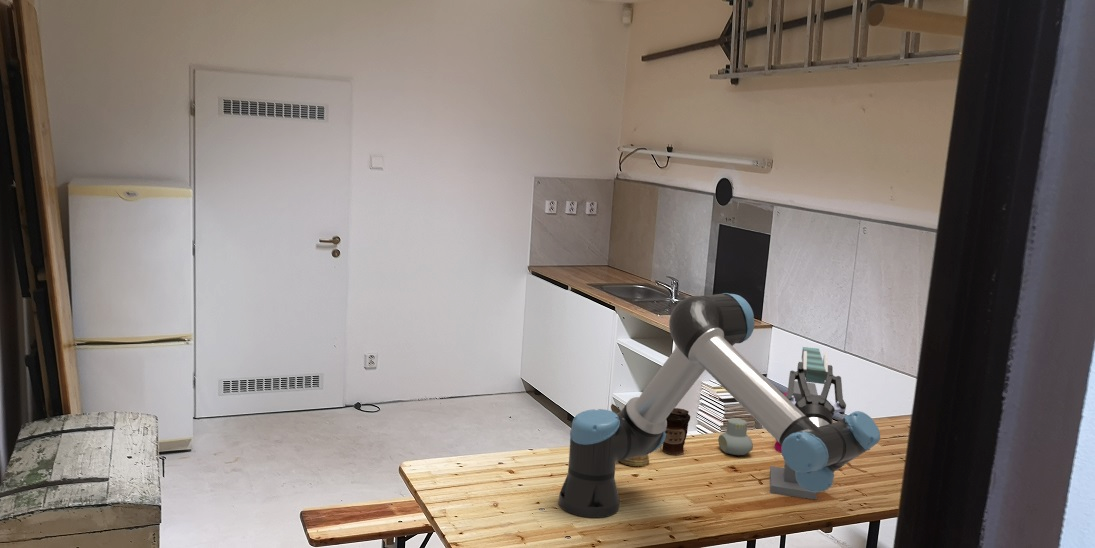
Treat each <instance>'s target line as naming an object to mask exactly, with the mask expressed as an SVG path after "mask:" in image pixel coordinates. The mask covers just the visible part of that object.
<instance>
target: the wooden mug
mask: <svg viewBox="0 0 1095 548" xmlns="http://www.w3.org/2000/svg"><path fill="white" fill-rule="evenodd" d="M621 410H622V409H620V408H619V407H618V406H617V405H615V404H613V403H612V404H611V405H610V411H612V412H614V413H616V414H617V413H619V412H620V411H621ZM620 462H621V463H620ZM619 463H620V464H622V463H623V464H622V465H624V464H625V465H624V466H627V465H629V466H628V467H632V466H638V467H637V468H640V467H639V466H643V467H645V465H646V466H647V465H649V464H650V456H649V454H647V455H643V456H636V457H632V458H628V459H624V460H620V461H619Z"/></svg>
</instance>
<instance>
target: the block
mask: <svg viewBox="0 0 1095 548" xmlns="http://www.w3.org/2000/svg"><path fill="white" fill-rule="evenodd" d="M801 350H802V352H801V360H802V359H803V353H804V351H807V370H806V376H805V379H806V382H807V383H814V384H821V385H824V384H825V381H826V380H825V375H826V370H825V367H824V364H823V358H822V354H821V351H820V348H816V347H808V346H807V347H806V346H802V349H801Z"/></svg>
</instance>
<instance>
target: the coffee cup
mask: <svg viewBox="0 0 1095 548" xmlns="http://www.w3.org/2000/svg"><path fill="white" fill-rule="evenodd" d="M689 412H690V411H689V410H686V409H684V408H679V407H678V408H677V407H675V408H674V409H673V411H672V412H671V413H670V414H669V416H668V417H667V418H666V420H667V427H666V431H665V434H666V437H665V440H664V442H663V444H662V452H664V453H666V454H668V455H675V456H677V455H678V456H679V455H680V456H681V455H684V452H685V450H684V448H685V442H686V439H687V436H688V428H689V423H690V420H691V415H690V414H689Z"/></svg>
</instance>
